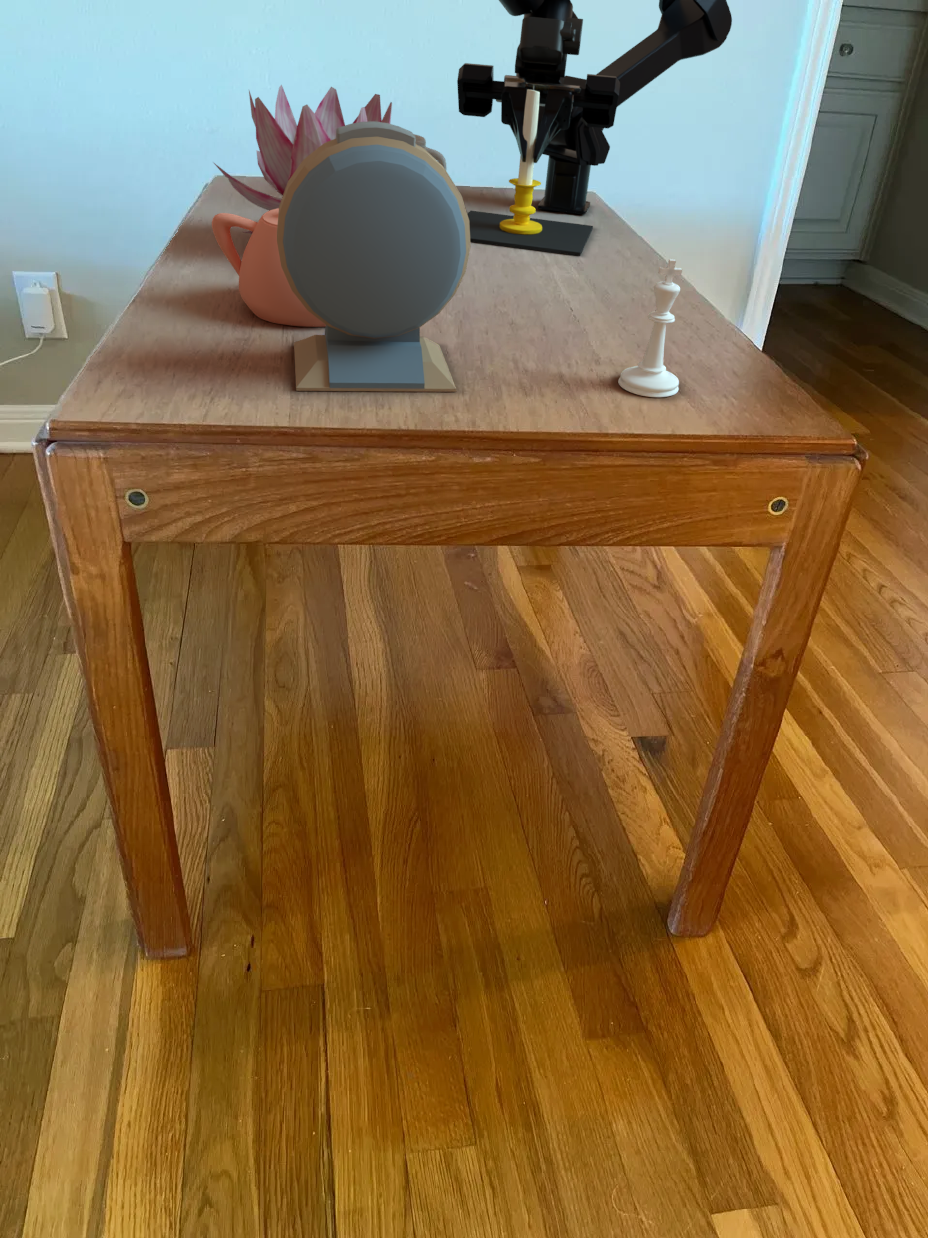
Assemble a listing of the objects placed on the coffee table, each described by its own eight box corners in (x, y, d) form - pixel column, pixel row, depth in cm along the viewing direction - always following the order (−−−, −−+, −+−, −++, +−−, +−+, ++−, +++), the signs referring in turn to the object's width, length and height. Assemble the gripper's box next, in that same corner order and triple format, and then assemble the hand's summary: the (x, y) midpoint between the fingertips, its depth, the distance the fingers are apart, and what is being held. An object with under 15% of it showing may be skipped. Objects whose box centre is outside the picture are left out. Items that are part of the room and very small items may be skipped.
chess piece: (612, 373, 79) (633, 249, 74) (669, 375, 80) (694, 252, 74) (625, 396, 75) (648, 267, 70) (685, 398, 76) (713, 270, 70)
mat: (470, 213, 123) (470, 210, 123) (592, 228, 121) (593, 225, 121) (445, 238, 112) (445, 234, 111) (580, 255, 110) (580, 252, 109)
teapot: (231, 282, 92) (223, 176, 86) (416, 296, 93) (420, 192, 87) (202, 323, 82) (192, 206, 77) (410, 338, 83) (415, 223, 77)
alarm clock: (450, 347, 82) (465, 117, 71) (469, 391, 74) (488, 140, 64) (281, 345, 79) (272, 106, 69) (282, 390, 71) (271, 129, 61)
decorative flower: (182, 258, 97) (166, 92, 89) (280, 217, 114) (274, 74, 106) (374, 292, 93) (377, 120, 84) (447, 244, 109) (456, 96, 101)
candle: (516, 220, 119) (528, 79, 110) (550, 229, 117) (565, 86, 107) (490, 227, 116) (501, 82, 106) (525, 237, 113) (539, 89, 104)
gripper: (464, -22, 105) (446, 104, 103) (632, -7, 104) (618, 119, 102) (467, 54, 116) (451, 169, 114) (619, 68, 115) (606, 184, 113)
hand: (529, 159), depth 110 cm, fingers closed on candle
